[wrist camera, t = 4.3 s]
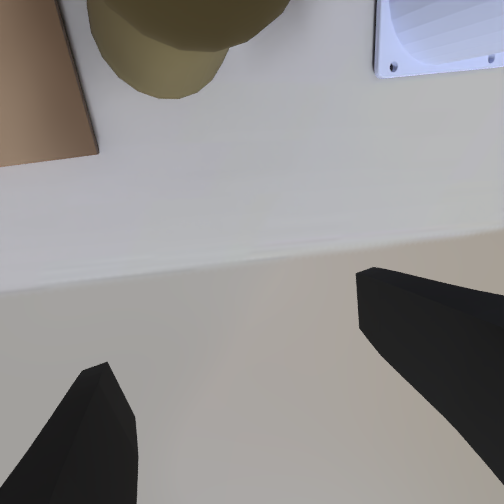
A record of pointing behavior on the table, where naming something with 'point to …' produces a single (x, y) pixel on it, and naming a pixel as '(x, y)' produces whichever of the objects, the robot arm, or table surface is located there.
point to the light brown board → (39, 87)
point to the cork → (174, 39)
